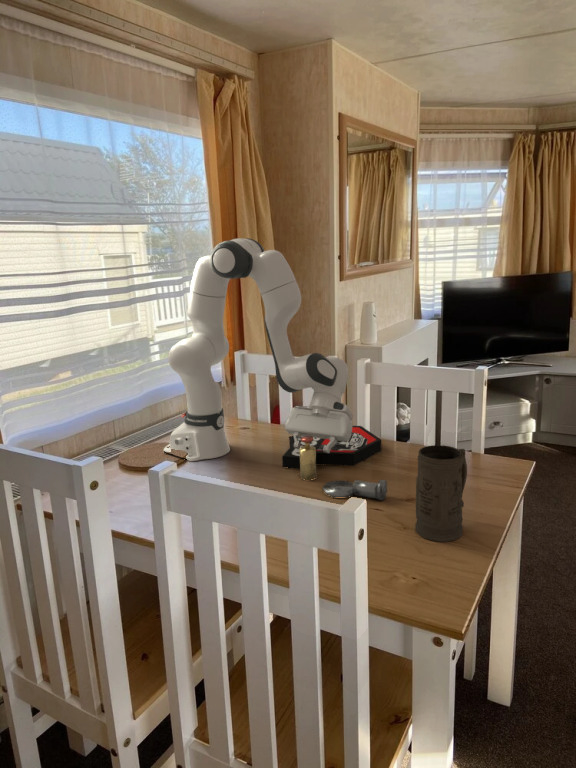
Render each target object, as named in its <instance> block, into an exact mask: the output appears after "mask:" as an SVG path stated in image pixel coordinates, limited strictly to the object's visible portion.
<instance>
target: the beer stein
mask: <svg viewBox="0 0 576 768" xmlns="http://www.w3.org/2000/svg"><path fill="white" fill-rule="evenodd" d="M417 453H418V454H417V458H416V459H417V476H416V478H415V479H416V480H415V481H416V482H415V519H416V522H415V526H414V528H415V533H417V534H418V535H419V536H420V537H422V538H424V539H426V540H429V541H433V542H440V543H442V542H443V543H444V542H445V543H446V542H451V541H455V540H458V539H460V538H461V537H462V536H463V531H464V530H463V508H464V507H465V506H464V505H465V503H464V501H463V493H464V490H465V485H466V483H467V477H468V476H467V475H468V464H467V460H466V458H467V457H466V449H465V448H456V447H453V446H448V445H444V444H443V445H441V444H435V445H428V446H424V447H421V448H420V449H419V451H418V452H417Z"/></svg>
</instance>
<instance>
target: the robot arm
mask: <svg viewBox="0 0 576 768" xmlns="http://www.w3.org/2000/svg"><path fill="white" fill-rule="evenodd" d="M247 277H249V278H252V280H253V281H254V282H255V284H256V286H257V288H258V290H259V293H260V296H261V298H262V301H263V306H264V313H265V314H264V320H263V321H264V328H265V332H266V335H267V339H268V343H269V347H270V350H271V354H272V358H273V361H274V362H273V363H274V365H275V366H274V367H275V369H274V370H275V377H276V381H277V383H278V385H279V386H280V387H281V389H282V390H284V391H285V392H287V393H291V394H292V393H296V392H299V391H301V390H304V389H308V388H311V389H312V390H313V394H312V396H311V400H310V401H309V405H308V406H307V405H304V406H303V405H296V406H294V407H293V408H291V410H290V411H289V415H288V418H287V420H286V421H285V424H284V429H285V431H286V432H287V433H288V434H289V435H291V436H294V440H295V443H294V448H295V449H299V448H300V446H301V443H300V442H299V441H298V438H299V439H300V437H301V436H312V437H315V438H323V439H330V442H329V443H328V444H327V445H324V448H323V451H324V453H330V449H331V448H332V447H333V446H334V445H335V444H336V442H337V440H338V441H348V440H349V439H350V437H351V433H352V426H354V425H353V422H352V421H353V418H354V414H353V411H352V410H351V409H350V407H349V406H348V405H347V404H345V403H343V402H342V396H343V394H344V393H345V391H346V388H347V384H348V380H349V366H348V364H347V363H346V361H344V360H343V359H342V358H339V357H335V356H330V357H328V356H324V354H322V353H320V352H313V353H308V354H305V355H302V356H300V357H296V358H295V356H294V355H293V352H292V347H291V344H290V340H289V336H288V331H287V330H288V326H289V323H290V321H291V320H292V319H293V318H294V316H295V315H296V314H297V312H298V311H299V309H300V307H301V304H302V293H301V290H300V287H299V285H298V282H297V279H296V277H295V274H294V272H293V271H292V268H291V267H290V265H289V263H288V261H287V259H286V258H285V257H284V255H283V254H282V252H280V251H278V250H277V249H268V250H265V248H263V246H262V244H261V243H260V242H259V241H257V240H256V239H253V238H247V237H246V238H240V237H239V238H233V239H230V240H224V241H222V242H219V243H218V244H217V245H215V247H214V248H213V249H212V251H211V253H210V254H209V255H204V256H202V257H200V258H199V259H198V261H197V262H196V264H195V267H194V270H193V275H192V279H191V282H190V288H189V289H190V290H189V297H188V305H187V317H188V318H189V319H190V320H191V323H192V335H191V336H190V337H186V338H183V339H181V340H179V341H178V342H177V343H175V344H174V345H173V346H172V347H171V348H170V350H169V351H168V359H167V360H168V363H169V366H170V368H171V369H172V370H173V371H174V372H176V373H177V374H178V375H179V377H180V380H181V381H182V385H183V387H184V391H185V396H186V404H187V406H186V407H187V411H185V412H184V413H181V414H180V416H181V418H184V420H183V422H182V423H181V424H180V425H178V426H177V427H176V428H175V429H174V430H173V431H172V432H171V434H170V437H169V444H167V445H165V447H164V448H163V451H165V452H171V449H175V450H182V451H185V452H187V453H188V455H187V456H186V459H187V460H186V461H189V462H197V461H201V460H210V459H211V460H212V459H215V458H219V457H223V456H225V455H227V454H229V452H230V450H231V447H230V445H229V442H228V439H227V435H226V430H225V411H224V408H223V406H222V405H223V403H222V402H223V401H222V391H221V386H220V384H219V383H218V382H217V381H215V379H214V377H213V373H212V369H211V367H213V366H215V365H217V364H219V363H221V362H222V361H223V360H224V359H225V358H226V357H227V355H228V354H229V351H230V343H229V340H228V338H227V337H226V336H225V329H224V315H225V307H226V300H227V299H226V298H227V292H228V285H229V282H230V280H235V279H245V278H247ZM169 446H170V447H169ZM167 447H169V448H167Z"/></svg>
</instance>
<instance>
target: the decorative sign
mask: <svg viewBox="0 0 576 768" xmlns="http://www.w3.org/2000/svg"><path fill="white" fill-rule="evenodd" d="M301 437H303V436H301ZM301 437H300V439H299V438H298V441H299V442H300V443H301V446H300V447H302V446H305V443H304V442H301ZM288 438H289V439H288V441H289V444H288V445H289V448H288V449H287V450H286V451H285V452H284V453H283V455H282V456H281V460H282V468H283V467H288V468H287V469H290V468H298V469H297V470H300V451H299V449H295V448H294V443H295V440H294V436H293V435H291V436H289V437H288ZM329 442H330V439H323V438H315V437H313V441H312V442H310V446H314V447H315V449H316V464H320V466H321V464H322V466H323V464H324V466H345V465H346V466H347V467H348V466H349V467H350V466H351V467H354V466H356V465H358V464H359V463H362V462H363V460H364V461H366V460H368V459H369V458H371V457H373V456H375V455H376V454H378V453H380V452H382V439H381V438H379V437H378V436H377V435H375V434H374V433H372V432H370V431H369V430H368V429H367V428H365V427H363V426H362V425H353V426H352V433H351V437H350V439H349V440H348V441H338V440H337V442H336V444H335V445H334V446H333V447H332V448H331V449H330V453H324V451H323V448H324V445H327V444H328V443H329ZM361 461H362V462H361ZM346 466H345V467H346Z"/></svg>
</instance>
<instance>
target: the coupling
mask: <svg viewBox="0 0 576 768" xmlns="http://www.w3.org/2000/svg"><path fill="white" fill-rule="evenodd" d="M322 486H323V487H322V488H323V489H322V490H323V491H324V492H325V493H326V494H327V495H330V496H332V497H349V496H350V497H349V498H352V497H353V496H352V495H354V496H358V497H364V498H368V499H373V500H374V499H375V500H377V501H385V499H386V497H387V493H388V481H387V480H385V479H379V480H378V482H371V481H365V480H360V479H355V480H354V481H353V482H351V481H348V480H332V481H328V482H326V483H325V484H324V485H322ZM323 491H322V492H323Z"/></svg>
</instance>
